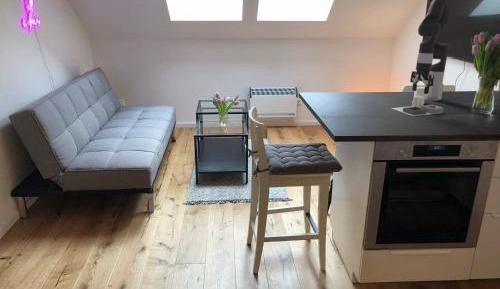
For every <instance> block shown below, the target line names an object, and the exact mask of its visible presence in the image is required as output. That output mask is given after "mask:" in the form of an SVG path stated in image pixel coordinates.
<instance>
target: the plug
mask: <svg viewBox="0 0 500 289" xmlns="http://www.w3.org/2000/svg"><path fill="white" fill-rule="evenodd" d="M425 100H426V99H425V97H422V96H414V95H413V99H412V101H413V103H412V105H411V106H412V107H419V108H420V106H422V105H424V104H425Z"/></svg>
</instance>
